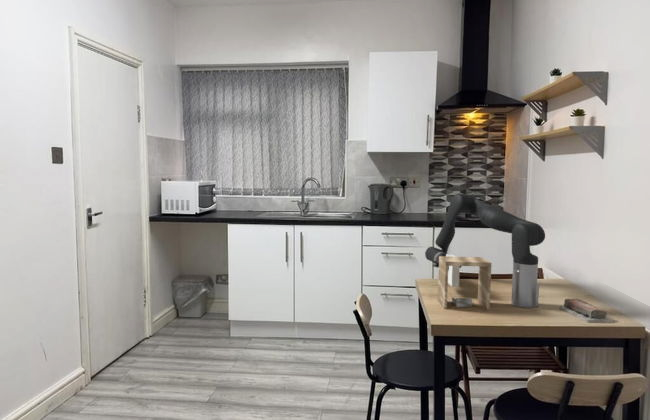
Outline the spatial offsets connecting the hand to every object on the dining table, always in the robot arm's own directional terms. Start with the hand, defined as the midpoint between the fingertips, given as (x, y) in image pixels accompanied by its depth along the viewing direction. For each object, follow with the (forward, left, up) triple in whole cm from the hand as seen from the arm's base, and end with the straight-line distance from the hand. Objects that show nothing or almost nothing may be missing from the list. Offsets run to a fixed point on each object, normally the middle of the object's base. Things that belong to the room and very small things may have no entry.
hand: (452, 267), depth 210 cm
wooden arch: (0, +19, -11) cm, 22 cm away
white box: (0, 0, -7) cm, 7 cm away
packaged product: (-43, +29, -12) cm, 53 cm away
